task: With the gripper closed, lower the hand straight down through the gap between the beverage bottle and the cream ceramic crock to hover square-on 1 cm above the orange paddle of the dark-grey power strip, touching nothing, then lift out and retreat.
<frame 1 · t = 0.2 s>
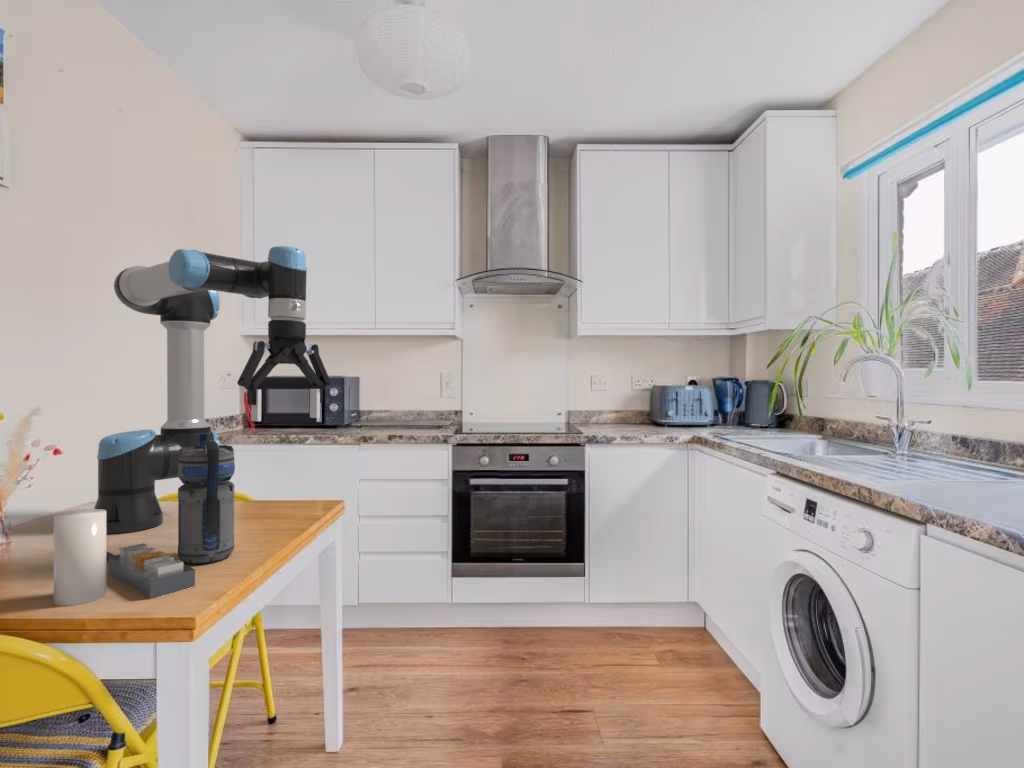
hand: (286, 419, 121), 28 cm above the table, fingers open, 13 cm apart
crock: (80, 597, 94), on the table
cable: (110, 559, 114), on the table
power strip: (150, 582, 103), on the table
beverage bottle: (207, 560, 115), on the table
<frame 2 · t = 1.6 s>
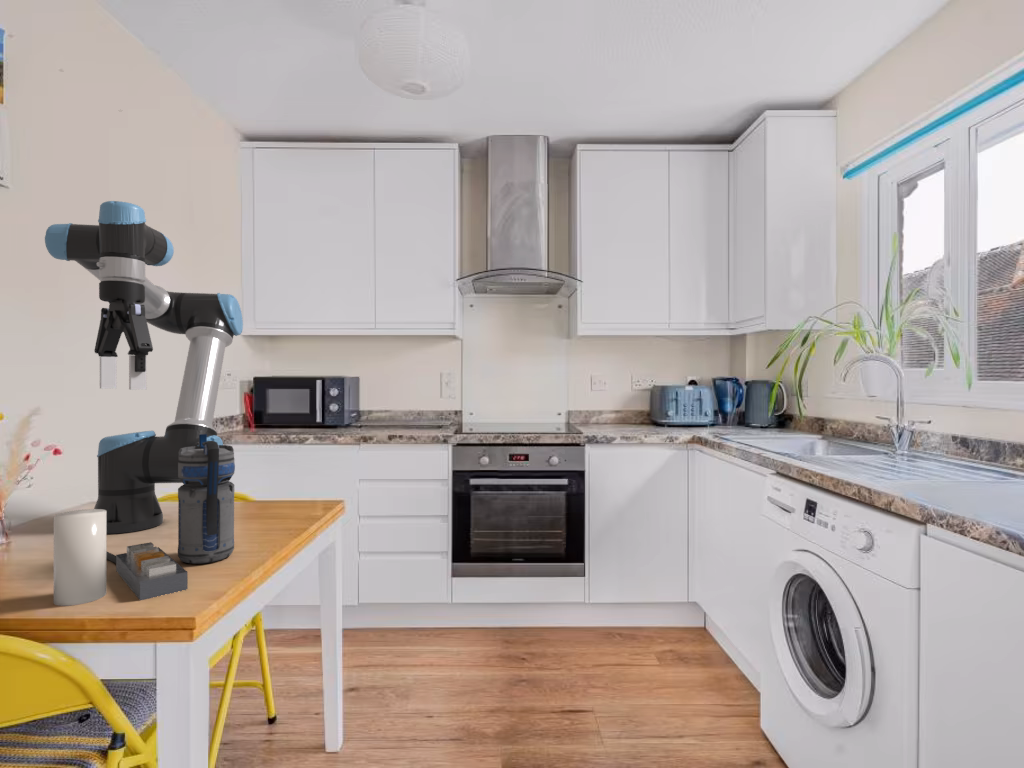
hand: (122, 389, 112), 34 cm above the table, fingers open, 13 cm apart
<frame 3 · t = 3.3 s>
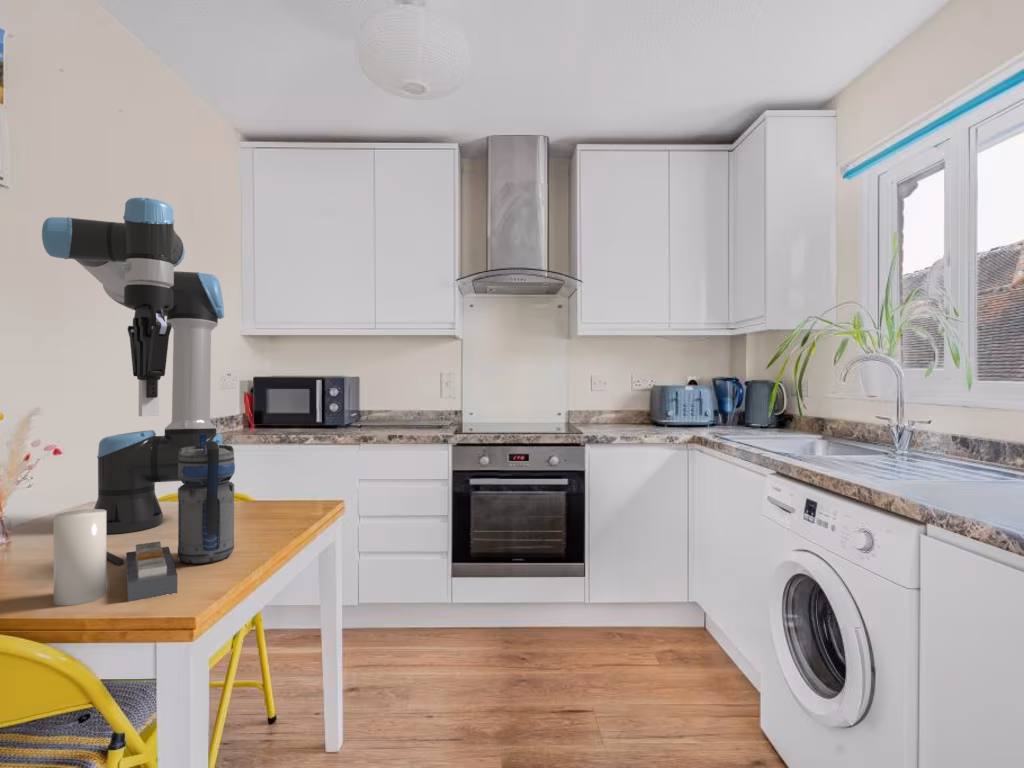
hand: (148, 415, 103), 30 cm above the table, fingers closed
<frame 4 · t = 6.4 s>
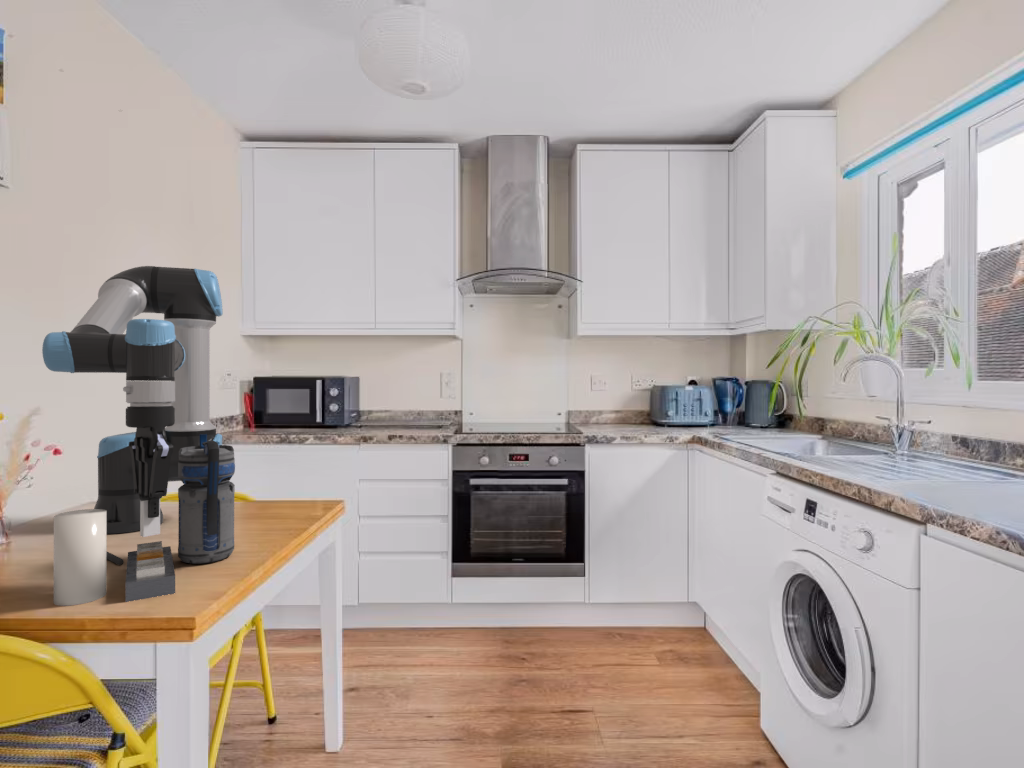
hand: (150, 534, 102), 8 cm above the table, fingers closed
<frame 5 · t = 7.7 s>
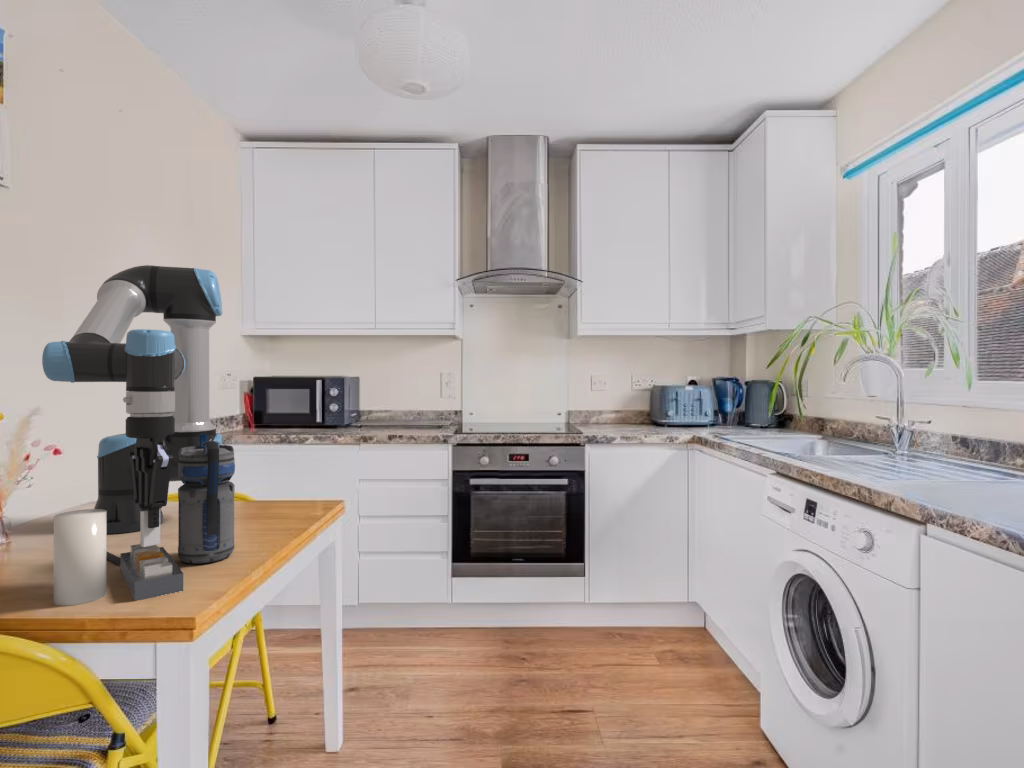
hand: (150, 544, 103), 6 cm above the table, fingers closed
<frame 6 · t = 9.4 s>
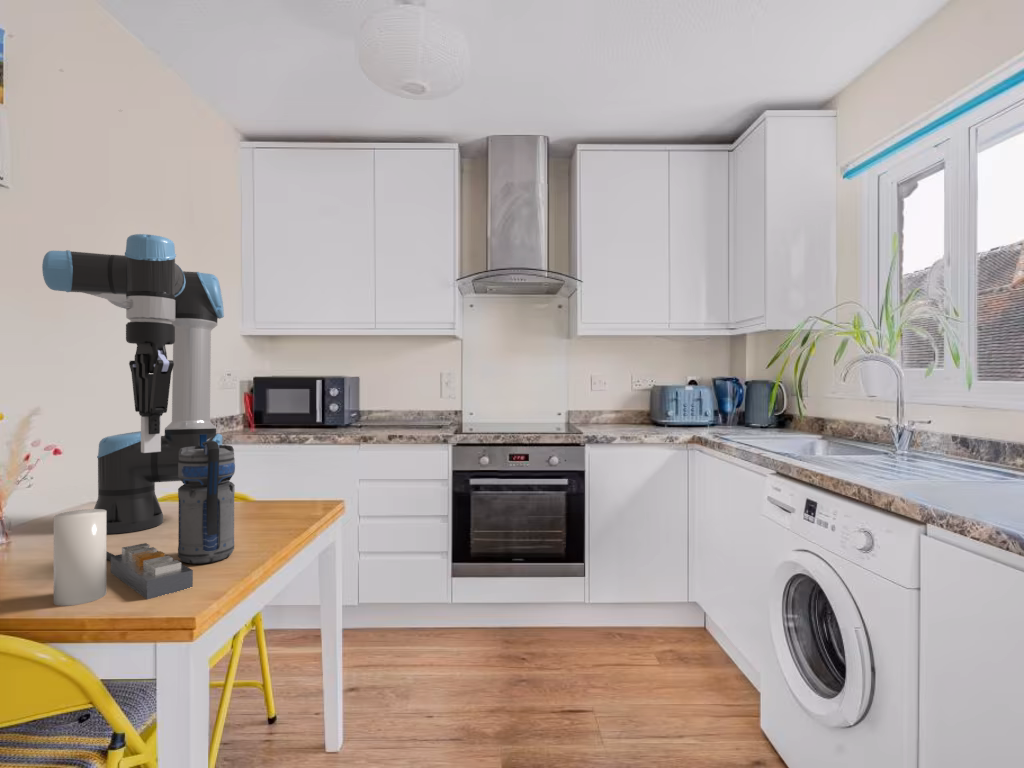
hand: (150, 451, 103), 23 cm above the table, fingers closed
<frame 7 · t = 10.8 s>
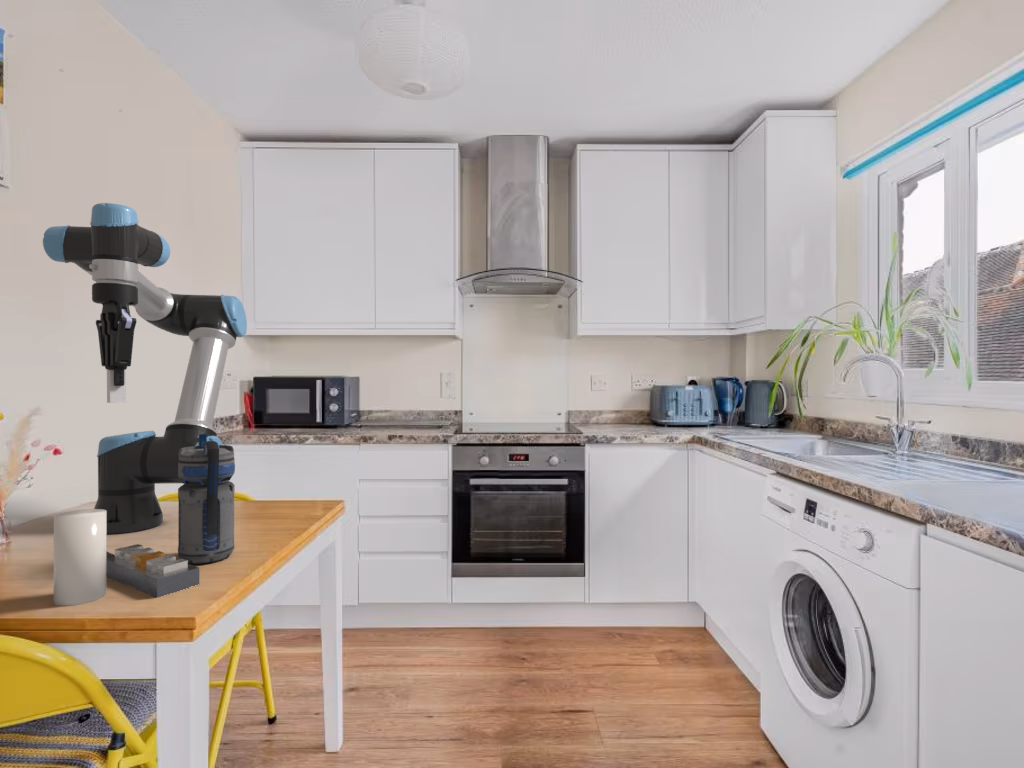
hand: (116, 402, 113), 32 cm above the table, fingers closed
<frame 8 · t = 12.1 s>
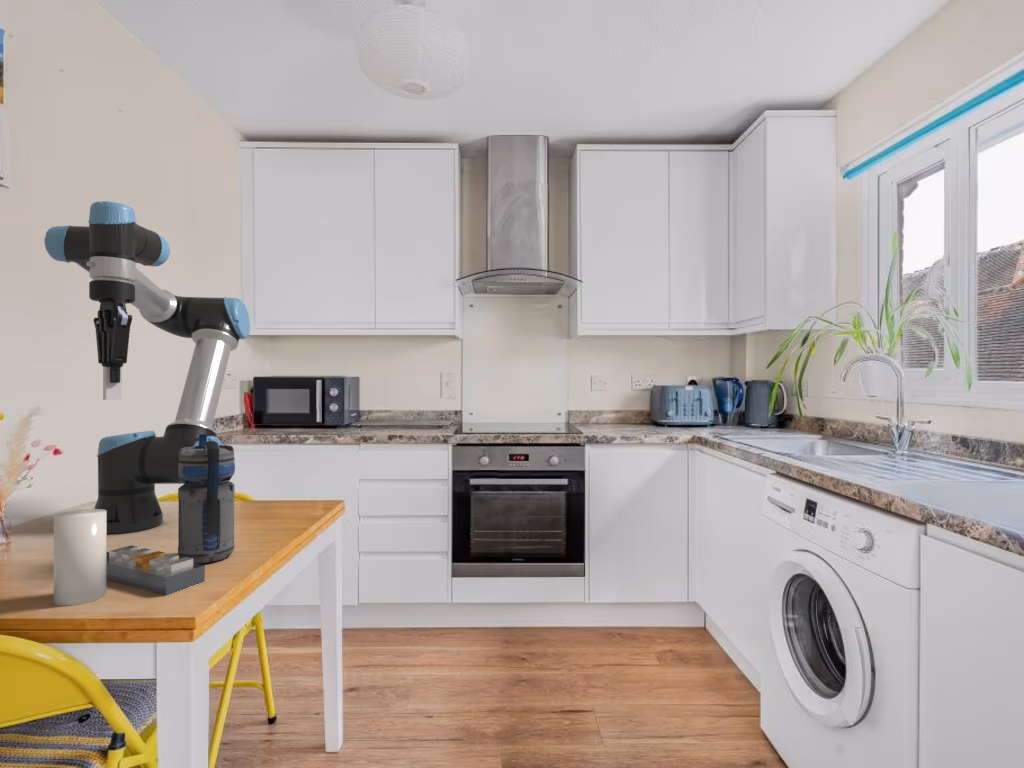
hand: (112, 399, 113), 32 cm above the table, fingers closed
at the end: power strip moved 0.4 cm from its start; beverage bottle moved 0.2 cm from its start; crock moved 0.0 cm from its start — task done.
